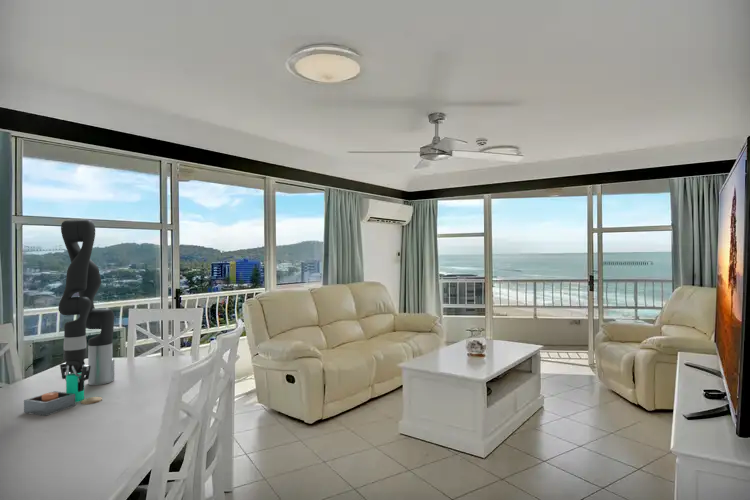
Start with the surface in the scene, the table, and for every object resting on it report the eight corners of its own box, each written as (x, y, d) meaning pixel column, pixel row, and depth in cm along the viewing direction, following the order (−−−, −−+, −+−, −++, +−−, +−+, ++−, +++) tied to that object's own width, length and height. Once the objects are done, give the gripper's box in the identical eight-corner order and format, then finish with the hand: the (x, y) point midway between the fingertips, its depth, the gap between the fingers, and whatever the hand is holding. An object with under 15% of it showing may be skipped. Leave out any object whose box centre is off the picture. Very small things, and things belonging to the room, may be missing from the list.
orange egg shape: (52, 398, 165) (52, 391, 165) (61, 399, 163) (61, 392, 163) (38, 402, 160) (38, 395, 160) (47, 403, 158) (47, 396, 158)
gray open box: (54, 402, 168) (54, 391, 168) (75, 405, 165) (75, 393, 165) (23, 412, 158) (23, 400, 158) (45, 415, 155) (45, 403, 155)
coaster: (93, 397, 174) (93, 396, 174) (106, 399, 172) (106, 397, 172) (76, 403, 167) (76, 401, 167) (89, 405, 165) (89, 403, 165)
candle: (75, 403, 168) (74, 372, 168) (62, 402, 169) (62, 371, 169) (88, 398, 173) (88, 368, 174) (75, 397, 175) (75, 367, 175)
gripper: (97, 346, 173) (97, 389, 172) (71, 344, 177) (71, 386, 177) (79, 350, 166) (79, 395, 165) (52, 348, 170) (52, 391, 170)
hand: (75, 390), depth 171 cm, fingers closed on candle, 5 cm apart
